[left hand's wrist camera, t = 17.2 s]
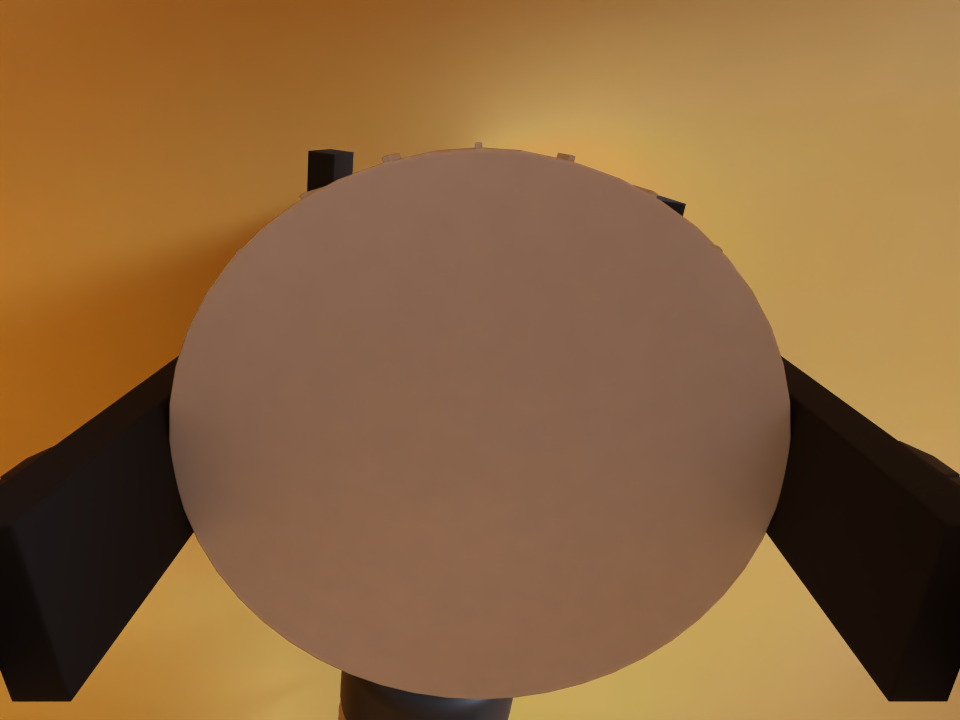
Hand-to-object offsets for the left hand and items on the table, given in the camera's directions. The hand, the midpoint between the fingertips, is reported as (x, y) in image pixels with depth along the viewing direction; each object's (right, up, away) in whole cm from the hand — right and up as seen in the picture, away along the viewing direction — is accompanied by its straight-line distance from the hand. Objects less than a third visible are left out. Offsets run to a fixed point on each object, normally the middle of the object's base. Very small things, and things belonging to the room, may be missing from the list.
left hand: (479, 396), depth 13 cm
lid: (0, -1, -3) cm, 3 cm away
